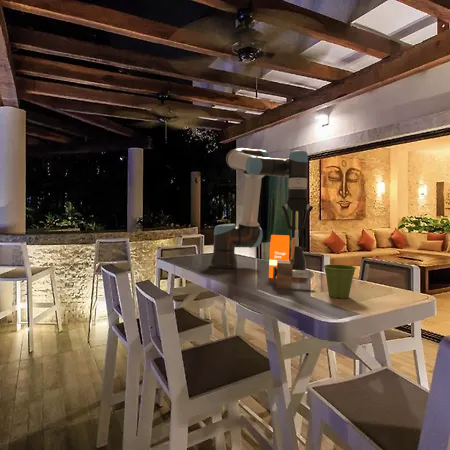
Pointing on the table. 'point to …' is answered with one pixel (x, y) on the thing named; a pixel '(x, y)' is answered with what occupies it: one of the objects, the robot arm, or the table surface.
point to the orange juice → (278, 251)
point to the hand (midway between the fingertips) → (296, 246)
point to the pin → (296, 273)
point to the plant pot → (339, 280)
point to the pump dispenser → (298, 258)
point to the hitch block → (284, 273)
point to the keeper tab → (292, 248)
